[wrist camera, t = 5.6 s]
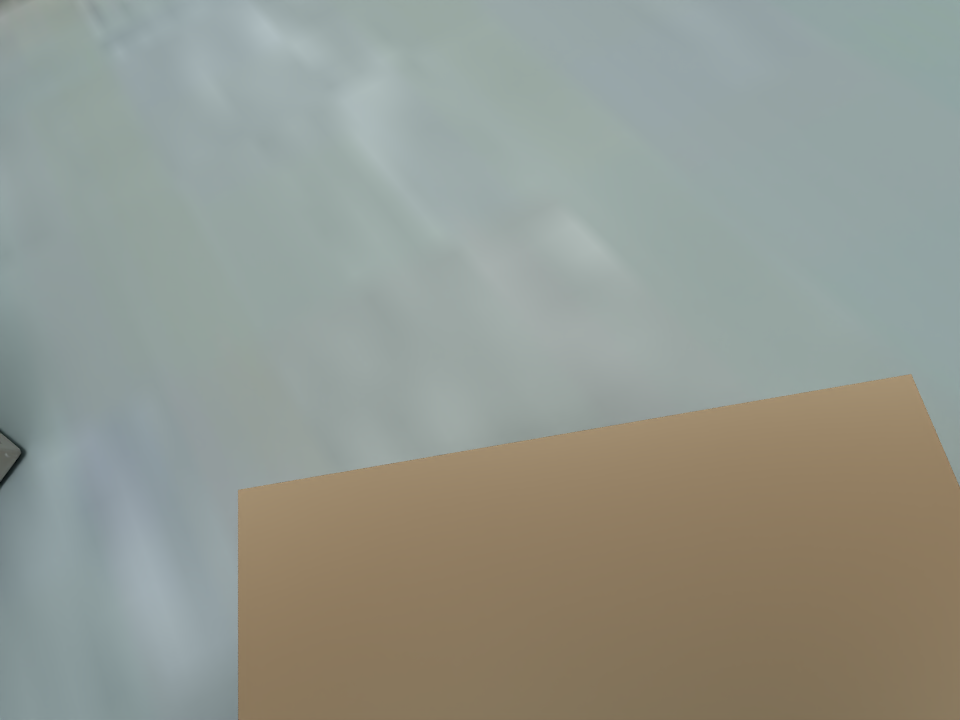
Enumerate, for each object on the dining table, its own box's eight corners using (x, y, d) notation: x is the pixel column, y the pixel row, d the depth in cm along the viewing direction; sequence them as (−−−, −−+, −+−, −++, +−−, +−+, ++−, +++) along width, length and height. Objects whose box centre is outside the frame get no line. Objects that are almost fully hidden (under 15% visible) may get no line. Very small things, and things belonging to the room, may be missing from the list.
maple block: (705, 702, 12) (1423, 1569, 2) (497, 727, 13) (239, 1542, 3) (652, 487, 14) (911, 374, 4) (468, 516, 15) (238, 490, 4)
